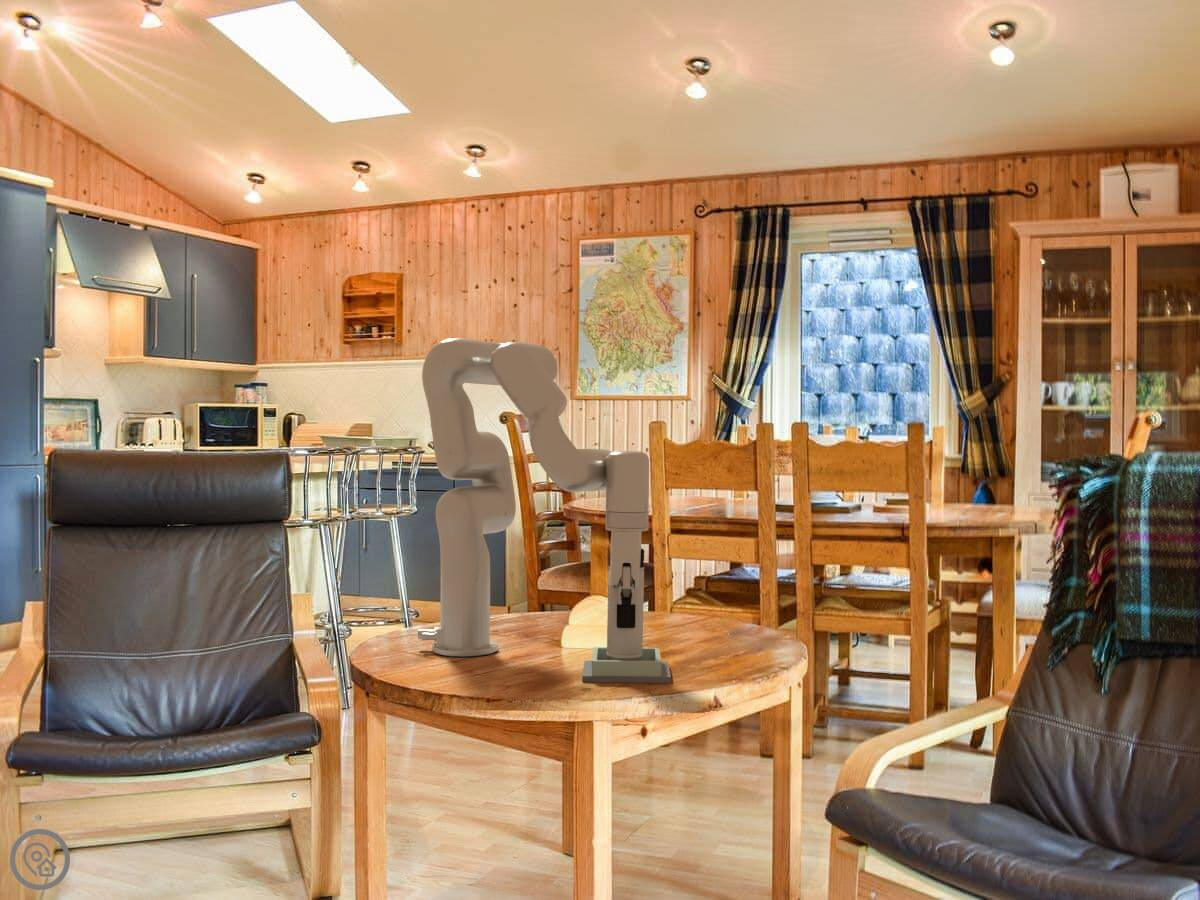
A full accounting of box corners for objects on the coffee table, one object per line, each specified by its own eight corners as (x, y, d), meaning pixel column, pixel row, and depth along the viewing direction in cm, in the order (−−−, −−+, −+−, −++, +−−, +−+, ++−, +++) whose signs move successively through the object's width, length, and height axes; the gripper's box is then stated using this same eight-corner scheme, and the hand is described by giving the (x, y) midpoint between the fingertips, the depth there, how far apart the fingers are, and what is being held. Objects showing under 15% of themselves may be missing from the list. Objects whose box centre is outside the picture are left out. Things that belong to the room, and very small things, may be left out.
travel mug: (649, 659, 189) (651, 546, 188) (632, 666, 183) (635, 550, 183) (617, 655, 192) (619, 544, 191) (600, 662, 186) (602, 547, 186)
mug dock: (582, 681, 181) (582, 661, 181) (584, 666, 193) (584, 646, 193) (670, 683, 181) (671, 662, 181) (667, 667, 193) (667, 647, 193)
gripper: (606, 517, 195) (605, 615, 196) (604, 525, 178) (603, 633, 179) (647, 517, 195) (646, 615, 196) (649, 526, 178) (648, 633, 178)
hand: (625, 623), depth 187 cm, fingers open, 6 cm apart
